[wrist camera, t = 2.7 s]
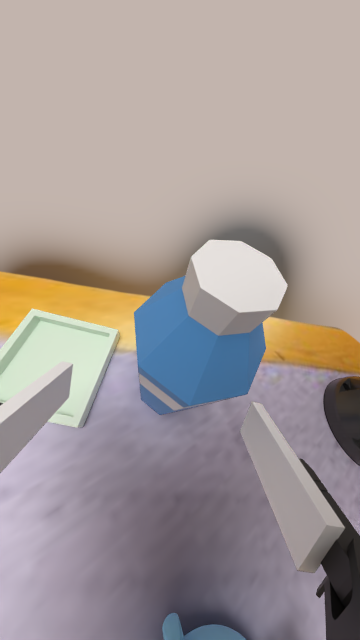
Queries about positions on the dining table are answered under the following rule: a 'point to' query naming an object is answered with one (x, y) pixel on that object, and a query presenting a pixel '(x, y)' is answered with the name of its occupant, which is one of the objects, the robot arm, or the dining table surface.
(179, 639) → the teapot
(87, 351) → the tray
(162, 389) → the water bottle
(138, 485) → the dining table surface
